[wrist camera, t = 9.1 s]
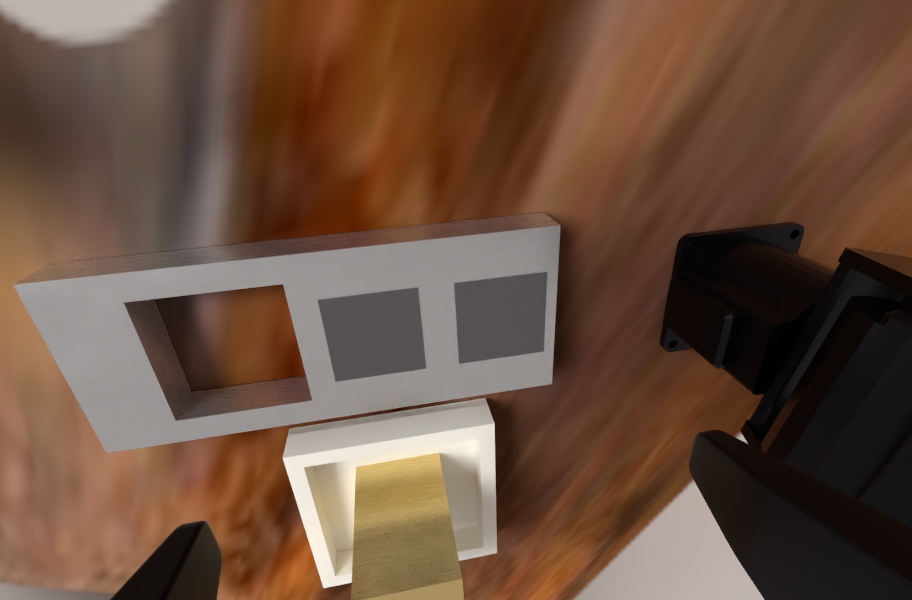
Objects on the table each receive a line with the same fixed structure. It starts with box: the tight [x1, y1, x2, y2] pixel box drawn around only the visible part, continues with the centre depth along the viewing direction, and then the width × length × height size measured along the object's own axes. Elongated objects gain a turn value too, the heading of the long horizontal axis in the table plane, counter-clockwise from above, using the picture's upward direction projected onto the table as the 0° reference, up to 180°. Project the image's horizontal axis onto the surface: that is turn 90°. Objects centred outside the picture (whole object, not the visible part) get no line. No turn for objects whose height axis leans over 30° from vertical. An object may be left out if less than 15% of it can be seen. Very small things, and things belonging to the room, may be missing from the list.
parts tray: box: [283, 398, 497, 588], centre depth 25 cm, size 10×10×2 cm
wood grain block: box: [351, 453, 464, 600], centre depth 22 cm, size 4×4×7 cm
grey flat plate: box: [14, 212, 561, 453], centre depth 20 cm, size 20×8×2 cm, turn 93°
